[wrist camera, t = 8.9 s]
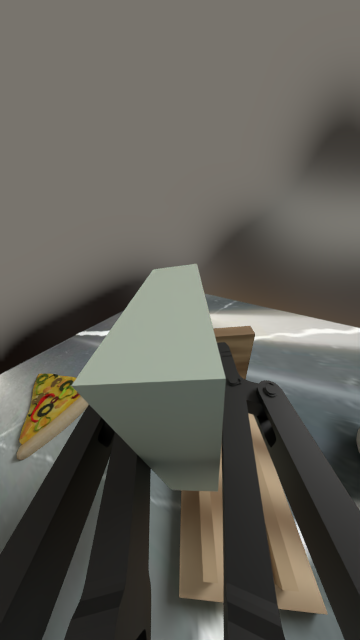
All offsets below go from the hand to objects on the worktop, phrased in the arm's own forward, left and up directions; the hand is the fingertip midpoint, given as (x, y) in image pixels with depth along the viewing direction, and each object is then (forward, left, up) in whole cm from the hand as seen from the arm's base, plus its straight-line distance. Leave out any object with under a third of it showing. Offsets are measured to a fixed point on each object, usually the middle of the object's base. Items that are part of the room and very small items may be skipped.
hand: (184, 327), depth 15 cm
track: (-2, +5, -20) cm, 20 cm away
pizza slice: (+29, -15, -21) cm, 39 cm away
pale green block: (+2, +5, -8) cm, 9 cm away
